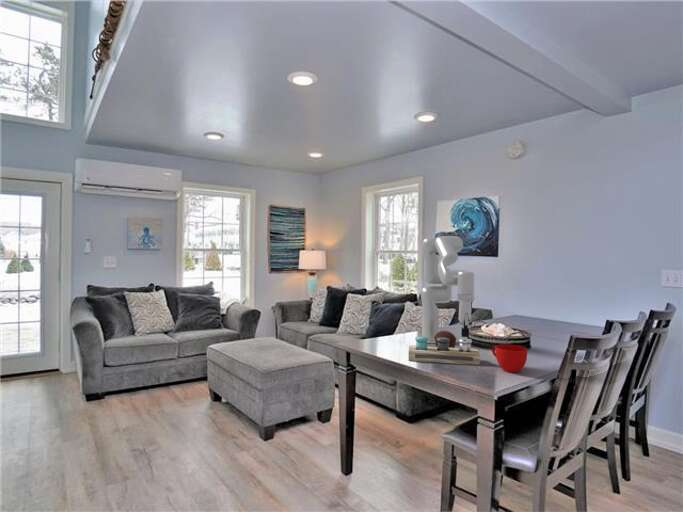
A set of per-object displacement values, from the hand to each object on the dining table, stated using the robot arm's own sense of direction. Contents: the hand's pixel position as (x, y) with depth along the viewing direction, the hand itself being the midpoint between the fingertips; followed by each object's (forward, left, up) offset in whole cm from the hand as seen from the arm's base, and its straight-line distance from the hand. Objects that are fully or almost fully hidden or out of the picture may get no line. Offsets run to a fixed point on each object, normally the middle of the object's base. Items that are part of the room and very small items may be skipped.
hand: (465, 336), depth 197 cm
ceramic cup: (+10, +17, -12) cm, 23 cm away
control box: (0, -10, -12) cm, 15 cm away
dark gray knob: (0, -10, -9) cm, 13 cm away
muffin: (-20, -8, -12) cm, 25 cm away
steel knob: (0, 0, -9) cm, 9 cm away
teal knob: (0, -20, -9) cm, 22 cm away
